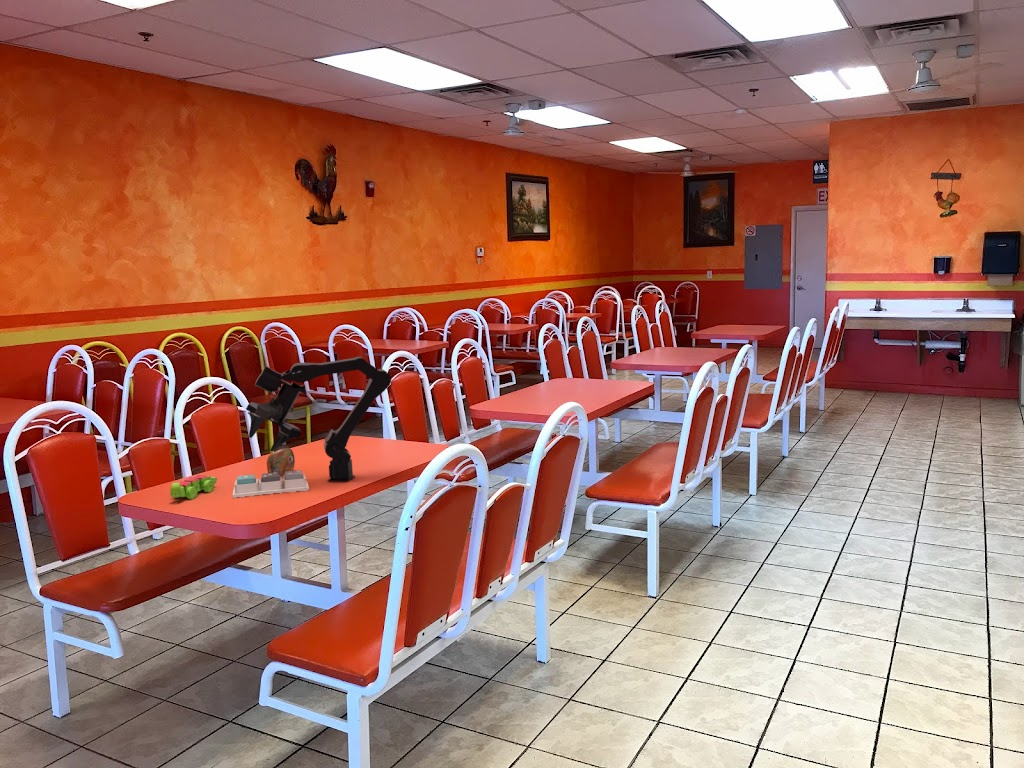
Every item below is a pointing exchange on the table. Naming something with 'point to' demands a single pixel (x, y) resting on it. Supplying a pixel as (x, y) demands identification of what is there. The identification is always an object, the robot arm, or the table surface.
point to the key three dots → (270, 477)
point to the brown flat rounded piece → (281, 461)
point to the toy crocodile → (193, 486)
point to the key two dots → (293, 475)
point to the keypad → (270, 487)
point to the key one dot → (246, 479)
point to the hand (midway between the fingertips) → (260, 444)
